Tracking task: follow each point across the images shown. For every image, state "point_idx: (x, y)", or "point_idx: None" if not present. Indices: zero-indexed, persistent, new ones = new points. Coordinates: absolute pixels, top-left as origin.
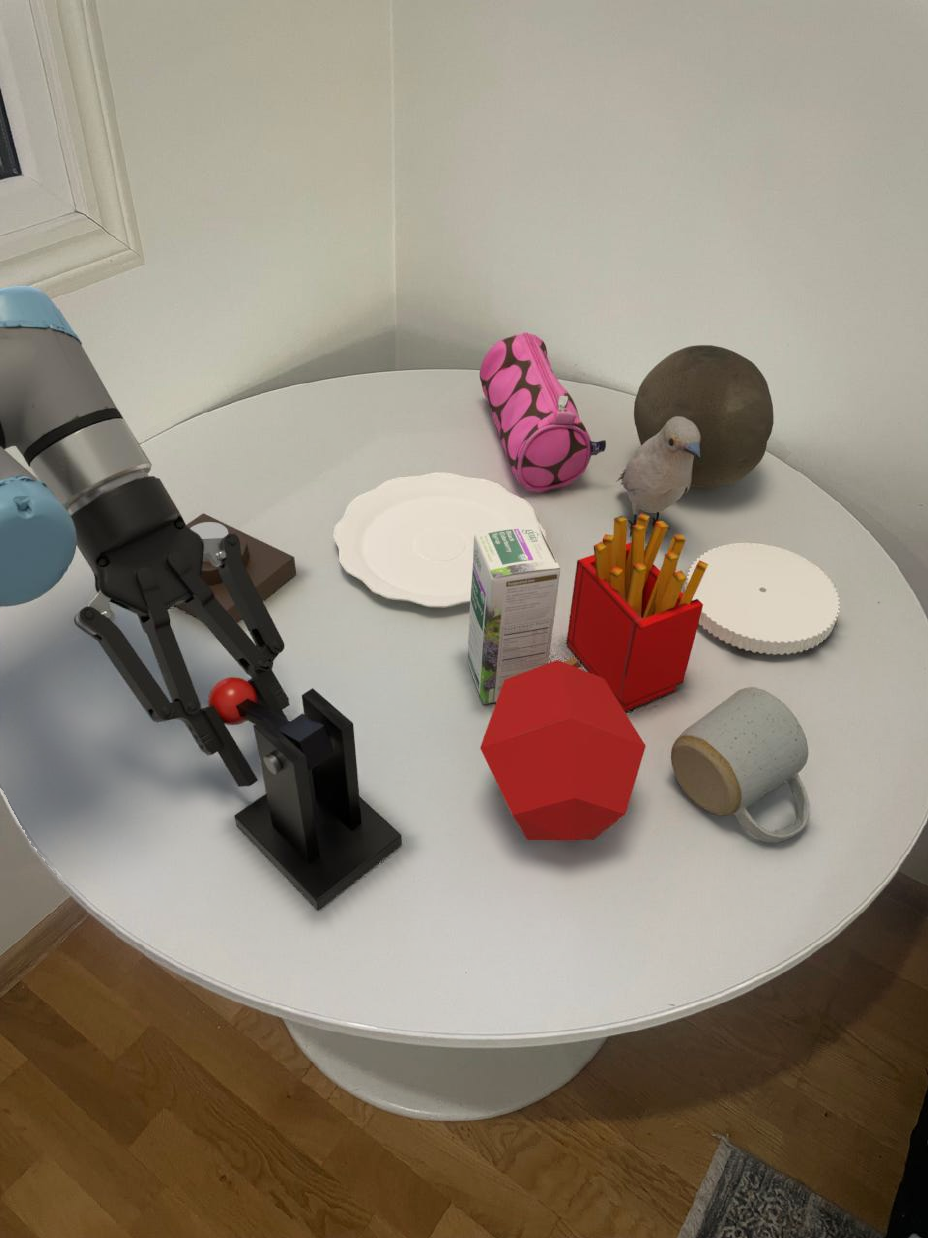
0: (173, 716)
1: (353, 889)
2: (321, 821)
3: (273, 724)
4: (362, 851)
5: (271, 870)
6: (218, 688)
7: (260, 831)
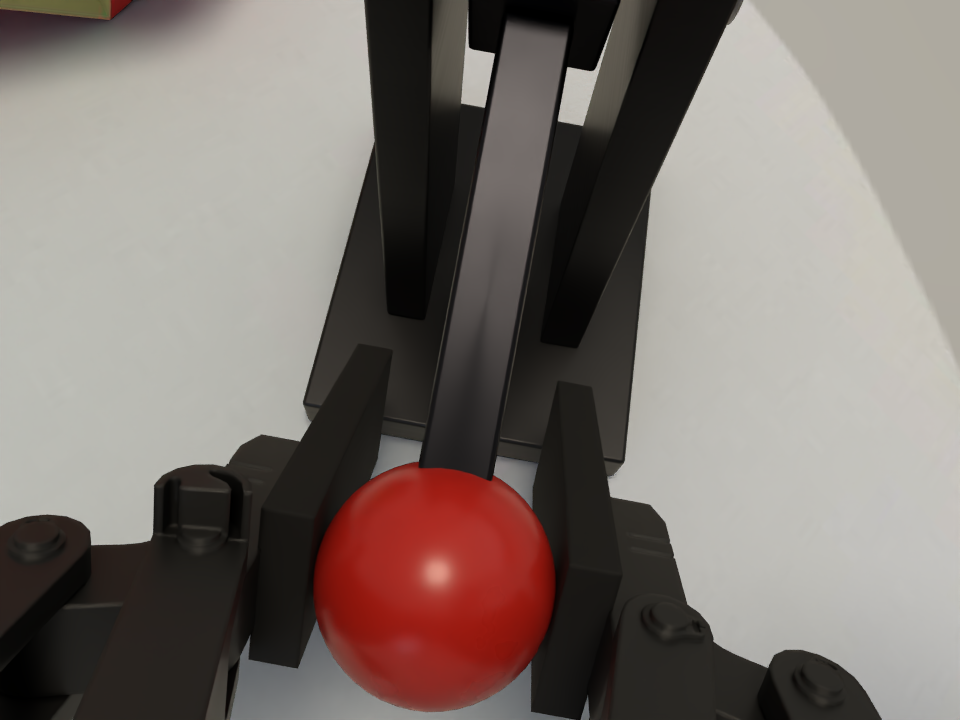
0: (765, 674)
1: None
2: None
3: (542, 141)
4: None
5: (643, 310)
6: (485, 607)
7: (611, 363)
